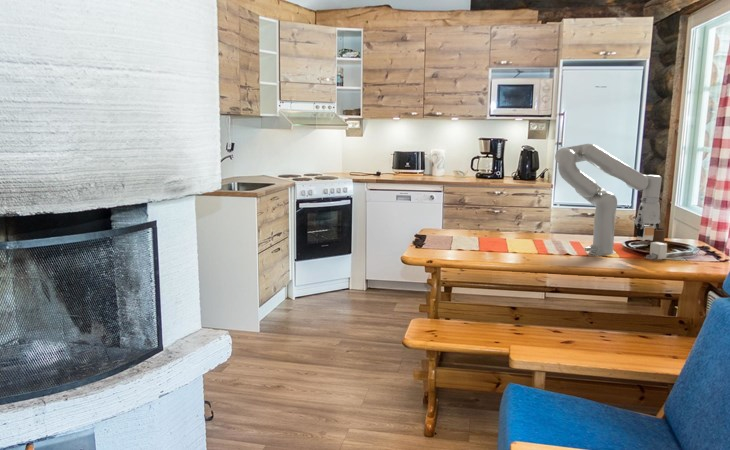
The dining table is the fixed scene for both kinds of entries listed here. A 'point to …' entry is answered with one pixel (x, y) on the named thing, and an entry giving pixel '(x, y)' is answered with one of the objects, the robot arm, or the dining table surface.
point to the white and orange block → (647, 233)
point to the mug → (658, 236)
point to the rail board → (671, 255)
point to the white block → (658, 249)
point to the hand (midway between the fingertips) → (645, 236)
